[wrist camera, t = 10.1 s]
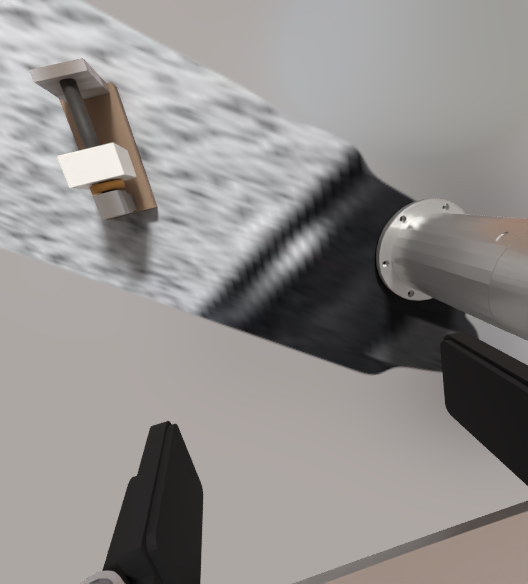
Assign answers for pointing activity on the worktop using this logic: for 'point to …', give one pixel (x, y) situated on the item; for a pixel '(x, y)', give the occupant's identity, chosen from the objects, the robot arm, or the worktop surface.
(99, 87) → the wooden stand
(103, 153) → the sleeve
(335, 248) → the worktop surface
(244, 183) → the worktop surface
